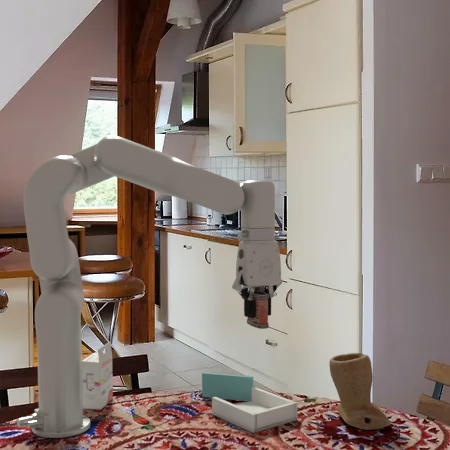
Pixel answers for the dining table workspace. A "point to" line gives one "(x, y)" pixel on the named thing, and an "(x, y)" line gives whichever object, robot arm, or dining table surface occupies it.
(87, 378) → the ink cartridge box
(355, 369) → the clay boot vessel
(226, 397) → the box door
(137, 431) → the dining table surface
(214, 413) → the box
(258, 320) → the lighter
